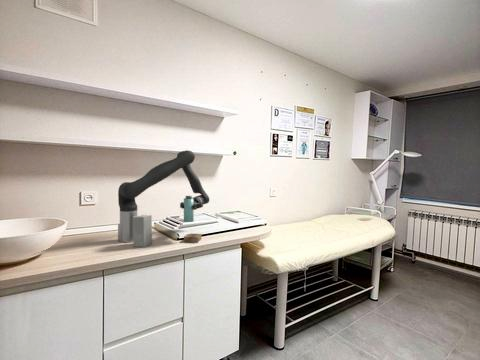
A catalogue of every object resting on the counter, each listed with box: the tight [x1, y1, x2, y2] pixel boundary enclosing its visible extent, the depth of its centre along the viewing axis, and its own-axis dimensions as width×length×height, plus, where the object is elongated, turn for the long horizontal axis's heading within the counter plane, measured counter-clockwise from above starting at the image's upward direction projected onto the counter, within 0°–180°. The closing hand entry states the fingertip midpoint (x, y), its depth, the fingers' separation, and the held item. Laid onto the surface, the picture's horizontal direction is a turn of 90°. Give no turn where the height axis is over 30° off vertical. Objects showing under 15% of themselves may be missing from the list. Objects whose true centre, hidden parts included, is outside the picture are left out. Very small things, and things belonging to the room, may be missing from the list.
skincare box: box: [133, 214, 153, 248], centre depth 135 cm, size 8×7×16 cm
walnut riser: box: [183, 233, 202, 244], centre depth 146 cm, size 8×8×3 cm
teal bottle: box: [183, 195, 195, 223], centre depth 145 cm, size 6×6×14 cm
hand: (187, 206), depth 143 cm, fingers closed on teal bottle, 5 cm apart
